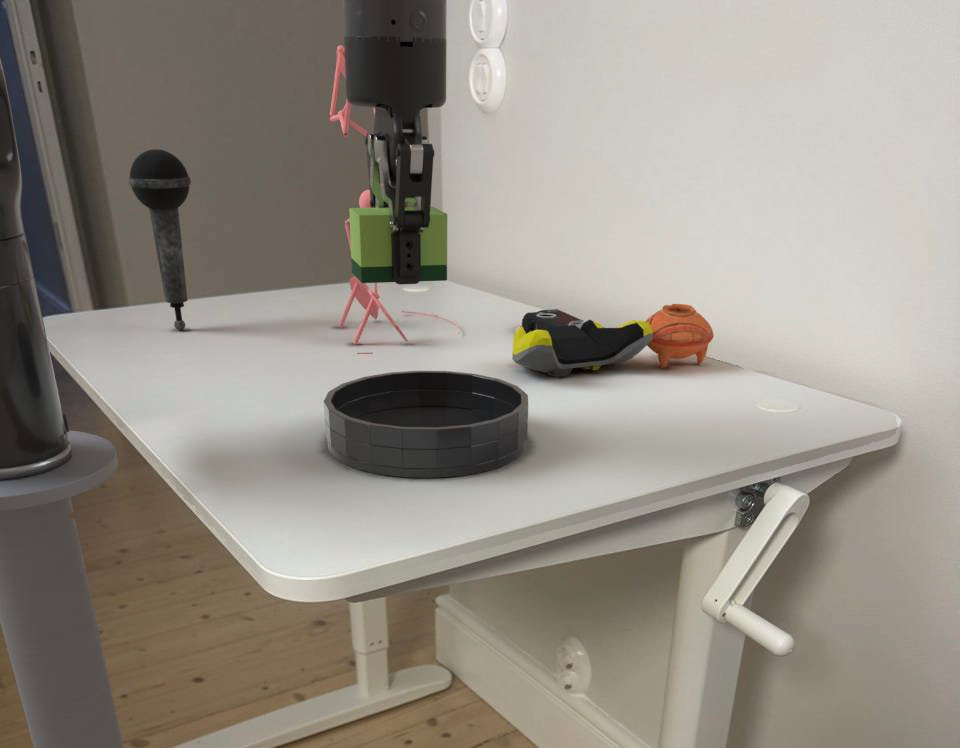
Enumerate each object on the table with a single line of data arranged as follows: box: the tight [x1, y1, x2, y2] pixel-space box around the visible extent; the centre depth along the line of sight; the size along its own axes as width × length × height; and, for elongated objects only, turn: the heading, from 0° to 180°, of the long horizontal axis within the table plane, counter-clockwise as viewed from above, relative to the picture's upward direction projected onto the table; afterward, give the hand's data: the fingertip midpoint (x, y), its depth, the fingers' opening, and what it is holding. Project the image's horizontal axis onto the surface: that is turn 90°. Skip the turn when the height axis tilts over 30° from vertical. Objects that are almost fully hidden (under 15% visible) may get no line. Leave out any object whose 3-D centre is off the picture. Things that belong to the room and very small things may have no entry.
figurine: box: [329, 44, 460, 355], centre depth 113 cm, size 15×26×35 cm, turn 18°
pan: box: [323, 370, 529, 479], centre depth 85 cm, size 17×17×4 cm
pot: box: [644, 303, 714, 369], centre depth 109 cm, size 8×8×7 cm
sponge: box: [348, 206, 448, 284], centre depth 80 cm, size 7×4×5 cm, turn 106°
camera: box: [521, 308, 585, 332], centre depth 120 cm, size 6×3×11 cm
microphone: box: [128, 148, 192, 331], centre depth 116 cm, size 7×7×20 cm
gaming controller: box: [512, 319, 653, 377], centre depth 105 cm, size 15×6×10 cm
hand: (399, 276), depth 81 cm, fingers closed on sponge, 4 cm apart
